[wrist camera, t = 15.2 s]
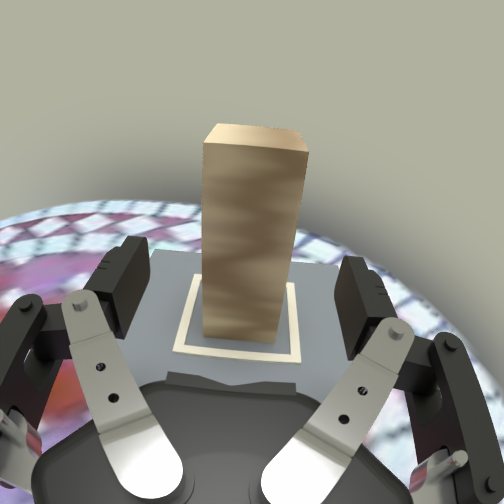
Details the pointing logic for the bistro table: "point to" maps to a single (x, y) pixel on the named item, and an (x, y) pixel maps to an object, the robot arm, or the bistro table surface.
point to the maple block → (248, 227)
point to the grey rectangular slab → (234, 351)
